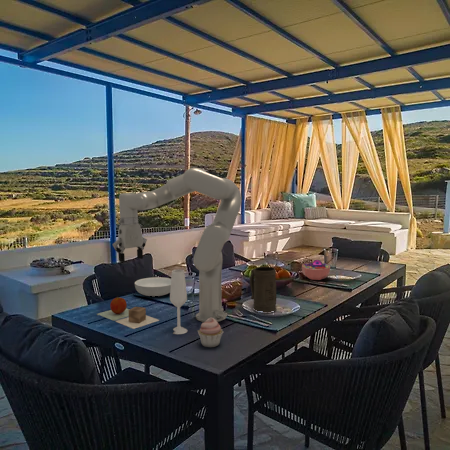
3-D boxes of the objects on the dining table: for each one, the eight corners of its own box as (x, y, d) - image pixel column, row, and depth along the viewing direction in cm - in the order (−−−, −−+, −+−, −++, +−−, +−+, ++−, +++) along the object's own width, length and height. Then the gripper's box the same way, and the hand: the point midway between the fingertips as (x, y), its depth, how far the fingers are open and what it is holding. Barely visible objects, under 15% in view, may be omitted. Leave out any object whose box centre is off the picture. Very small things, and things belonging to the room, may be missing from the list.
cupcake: (203, 351, 135) (203, 323, 134) (193, 341, 143) (193, 315, 142) (228, 346, 139) (228, 319, 138) (217, 337, 147) (217, 311, 146)
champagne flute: (166, 330, 154) (165, 270, 151) (180, 326, 158) (179, 268, 156) (177, 335, 149) (176, 273, 146) (191, 331, 153) (190, 270, 151)
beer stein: (282, 309, 179) (280, 267, 177) (268, 315, 171) (266, 271, 170) (256, 305, 189) (254, 264, 188) (242, 310, 181) (240, 268, 180)
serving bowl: (180, 297, 198) (180, 284, 198) (138, 302, 191) (138, 288, 190) (170, 287, 218) (170, 275, 217) (132, 291, 210) (131, 278, 209)
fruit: (130, 312, 173) (129, 294, 172) (118, 316, 167) (118, 298, 166) (118, 309, 177) (118, 292, 176) (107, 314, 171) (106, 296, 170)
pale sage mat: (139, 314, 173) (139, 312, 173) (113, 322, 163) (113, 320, 163) (122, 308, 181) (122, 306, 181) (96, 315, 171) (96, 313, 171)
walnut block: (145, 319, 164) (145, 307, 164) (139, 323, 160) (138, 311, 159) (135, 318, 166) (135, 306, 165) (128, 321, 161) (128, 310, 161)
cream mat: (159, 321, 163) (159, 320, 163) (133, 330, 154) (133, 328, 154) (140, 315, 172) (140, 313, 172) (115, 323, 162) (114, 321, 162)
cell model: (296, 280, 232) (296, 262, 230) (308, 274, 249) (308, 256, 247) (324, 284, 223) (324, 265, 222) (334, 277, 240) (335, 259, 239)
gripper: (117, 223, 162) (119, 264, 164) (150, 220, 175) (152, 257, 177) (107, 223, 167) (109, 262, 169) (139, 219, 180) (141, 256, 182)
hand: (131, 260), depth 173 cm, fingers open, 9 cm apart
